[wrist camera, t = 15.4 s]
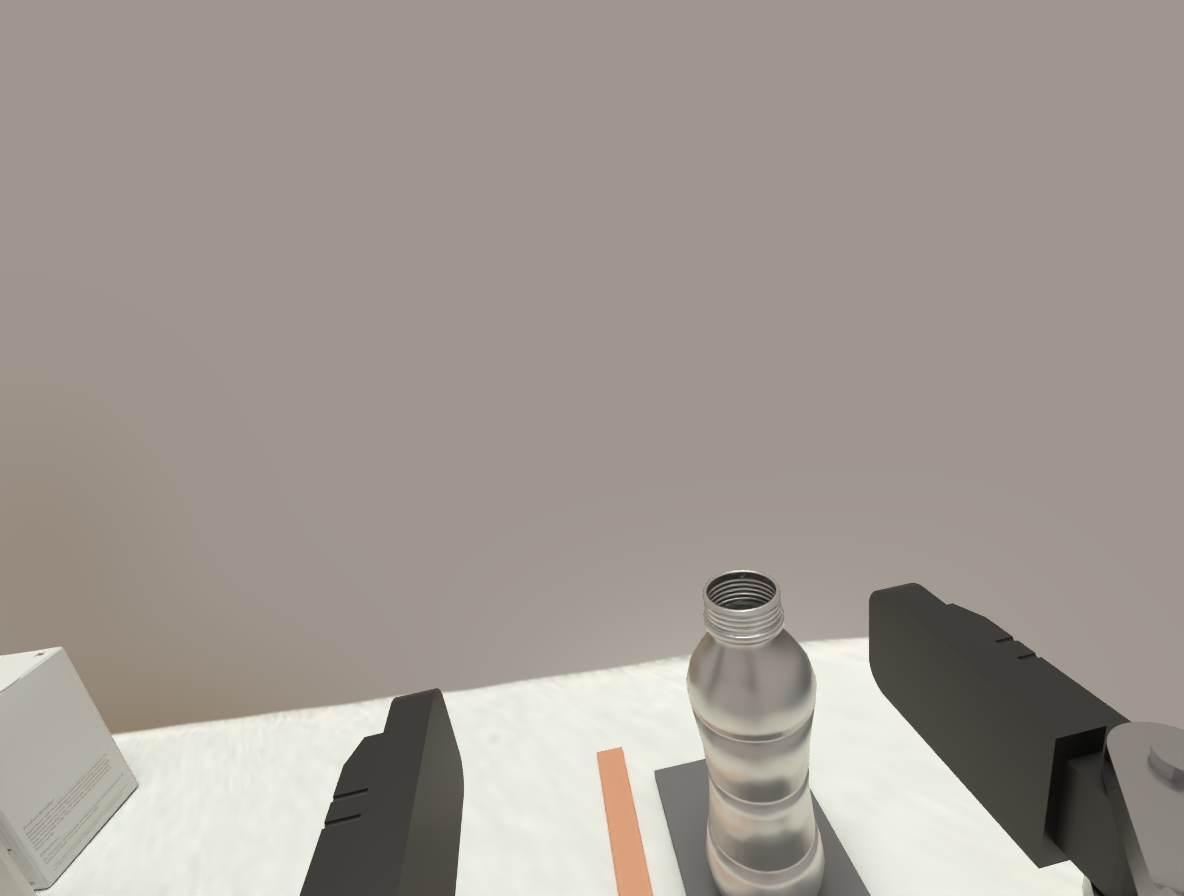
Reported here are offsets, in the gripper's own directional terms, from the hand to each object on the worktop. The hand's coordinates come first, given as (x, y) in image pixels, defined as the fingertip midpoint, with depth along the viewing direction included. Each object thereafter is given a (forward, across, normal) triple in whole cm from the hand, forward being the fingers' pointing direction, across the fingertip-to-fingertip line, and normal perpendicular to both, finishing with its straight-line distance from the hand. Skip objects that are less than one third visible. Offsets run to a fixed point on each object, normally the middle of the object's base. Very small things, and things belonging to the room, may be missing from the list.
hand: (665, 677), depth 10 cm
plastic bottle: (+14, -7, +29) cm, 33 cm away
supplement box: (+32, +47, +30) cm, 64 cm away
